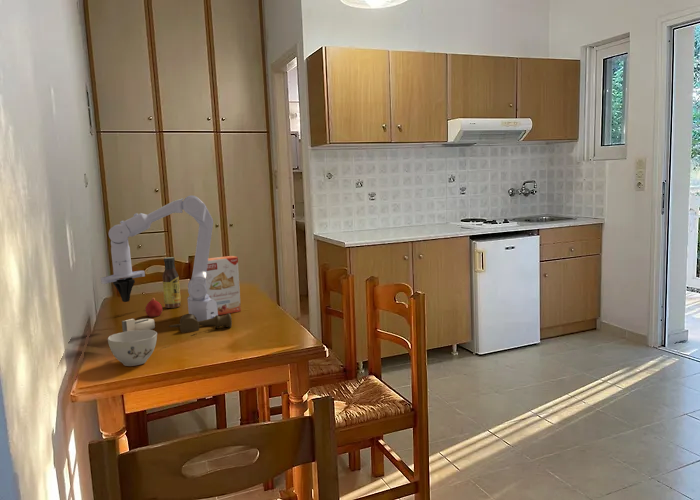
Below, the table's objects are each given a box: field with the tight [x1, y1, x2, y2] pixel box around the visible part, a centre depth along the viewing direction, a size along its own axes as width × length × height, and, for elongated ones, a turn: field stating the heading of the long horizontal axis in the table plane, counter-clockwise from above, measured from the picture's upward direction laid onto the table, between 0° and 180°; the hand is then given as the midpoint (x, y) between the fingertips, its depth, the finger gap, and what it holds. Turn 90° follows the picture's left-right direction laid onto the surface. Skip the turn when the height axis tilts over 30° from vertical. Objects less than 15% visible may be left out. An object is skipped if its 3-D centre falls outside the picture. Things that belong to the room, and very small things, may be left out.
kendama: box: [168, 313, 233, 337], centre depth 181 cm, size 6×10×20 cm
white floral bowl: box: [107, 329, 158, 367], centre depth 151 cm, size 15×12×8 cm
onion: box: [145, 297, 163, 318], centre depth 199 cm, size 6×6×8 cm
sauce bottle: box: [162, 256, 182, 309], centre depth 218 cm, size 6×6×20 cm
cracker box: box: [206, 255, 242, 316], centre depth 203 cm, size 14×6×21 cm, turn 126°
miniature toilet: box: [121, 318, 156, 332], centre depth 180 cm, size 10×7×4 cm
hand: (125, 301), depth 183 cm, fingers closed
